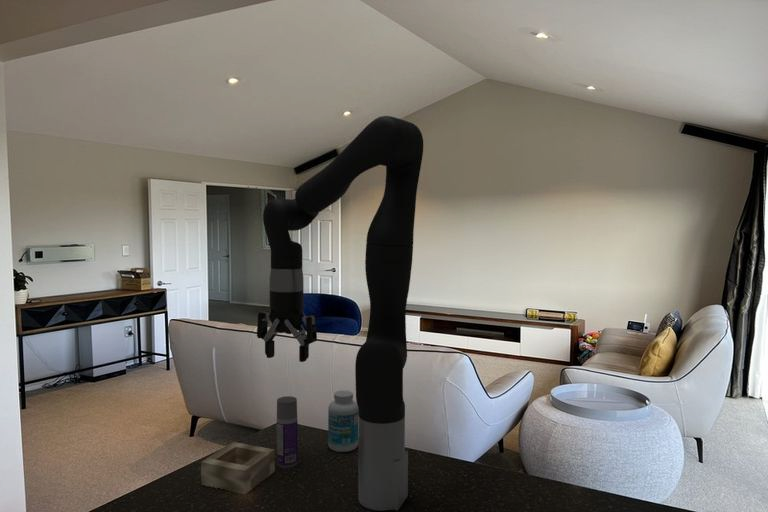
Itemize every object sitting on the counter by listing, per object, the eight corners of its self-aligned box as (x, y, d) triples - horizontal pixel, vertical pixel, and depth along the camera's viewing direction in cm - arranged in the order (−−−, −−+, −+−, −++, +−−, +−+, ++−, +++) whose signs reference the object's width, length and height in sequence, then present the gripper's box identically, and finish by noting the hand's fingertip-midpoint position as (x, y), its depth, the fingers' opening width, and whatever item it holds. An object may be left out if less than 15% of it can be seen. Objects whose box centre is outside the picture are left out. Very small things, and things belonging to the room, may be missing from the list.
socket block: (274, 471, 121) (274, 449, 121) (245, 494, 111) (244, 470, 111) (233, 463, 125) (233, 441, 125) (201, 484, 115) (200, 461, 115)
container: (300, 459, 127) (299, 396, 126) (294, 468, 123) (294, 403, 122) (280, 458, 128) (279, 395, 127) (274, 467, 123) (273, 402, 122)
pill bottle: (323, 451, 132) (323, 396, 131) (334, 439, 139) (334, 387, 138) (352, 455, 130) (352, 399, 129) (362, 442, 137) (362, 390, 136)
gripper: (322, 288, 123) (322, 358, 124) (269, 284, 129) (269, 352, 130) (306, 292, 116) (305, 367, 118) (250, 288, 122) (250, 359, 123)
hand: (286, 359), depth 124 cm, fingers open, 8 cm apart
